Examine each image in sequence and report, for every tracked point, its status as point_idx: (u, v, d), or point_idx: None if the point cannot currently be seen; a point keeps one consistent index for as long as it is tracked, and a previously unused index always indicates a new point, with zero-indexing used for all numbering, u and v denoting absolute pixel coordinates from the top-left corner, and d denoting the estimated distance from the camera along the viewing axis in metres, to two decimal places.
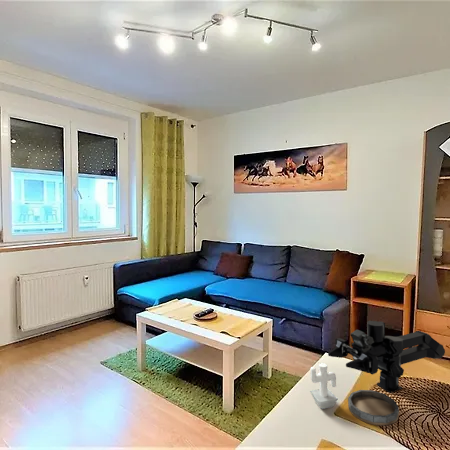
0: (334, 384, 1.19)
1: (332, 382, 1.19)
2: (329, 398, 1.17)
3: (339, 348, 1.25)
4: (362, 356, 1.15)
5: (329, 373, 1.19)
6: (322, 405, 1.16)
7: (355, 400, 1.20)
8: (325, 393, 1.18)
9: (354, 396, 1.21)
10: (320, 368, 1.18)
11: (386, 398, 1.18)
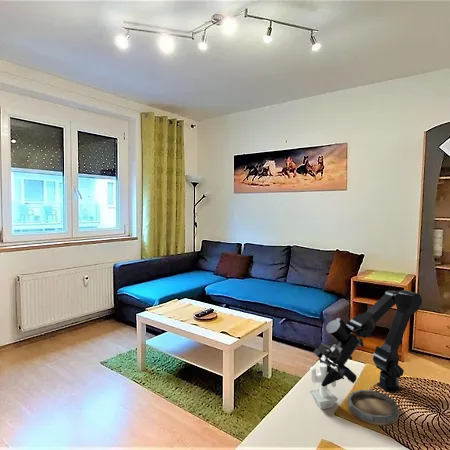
0: (334, 384, 1.19)
1: (332, 382, 1.19)
2: (329, 398, 1.17)
3: None
4: (330, 369, 1.16)
5: None
6: (322, 405, 1.16)
7: (355, 400, 1.20)
8: (325, 393, 1.18)
9: (354, 396, 1.21)
10: (320, 368, 1.18)
11: (386, 398, 1.18)
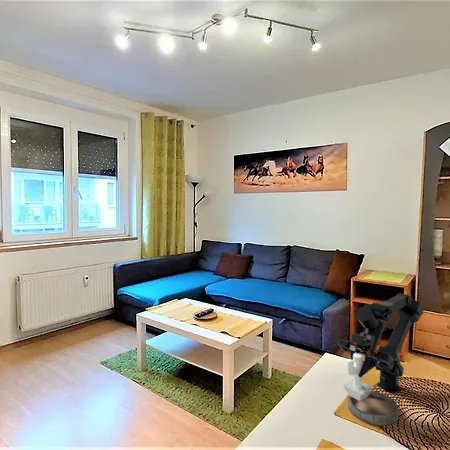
0: (367, 373, 1.16)
1: None
2: (365, 388, 1.14)
3: None
4: (366, 358, 1.13)
5: (362, 363, 1.15)
6: (361, 397, 1.12)
7: (355, 400, 1.20)
8: (361, 384, 1.14)
9: None
10: (356, 359, 1.13)
11: (386, 398, 1.18)
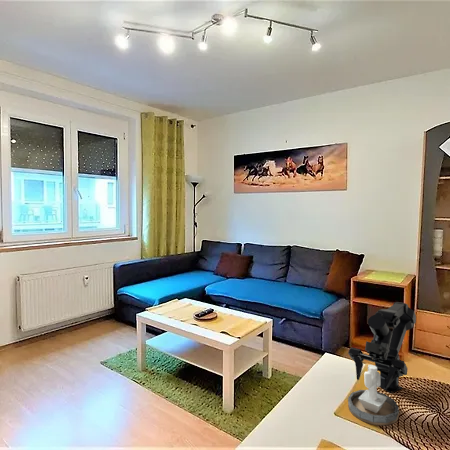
0: (380, 383, 1.16)
1: (378, 382, 1.16)
2: (380, 399, 1.14)
3: (359, 363, 1.19)
4: (391, 369, 1.11)
5: None
6: (379, 408, 1.11)
7: (355, 400, 1.20)
8: (376, 395, 1.14)
9: (354, 396, 1.21)
10: (372, 371, 1.13)
11: None
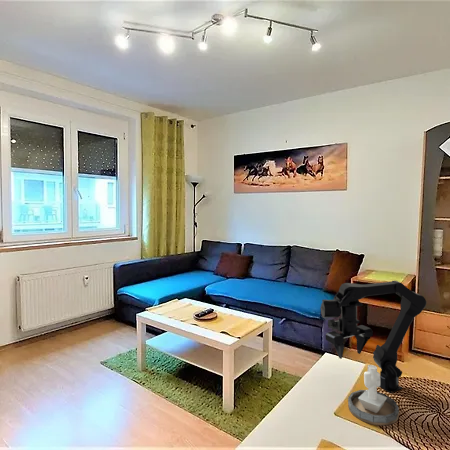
0: (379, 383, 1.16)
1: (378, 382, 1.16)
2: (380, 399, 1.14)
3: (357, 338, 1.31)
4: None
5: None
6: (379, 408, 1.11)
7: (355, 400, 1.20)
8: (376, 395, 1.14)
9: (354, 396, 1.21)
10: (372, 371, 1.13)
11: None
